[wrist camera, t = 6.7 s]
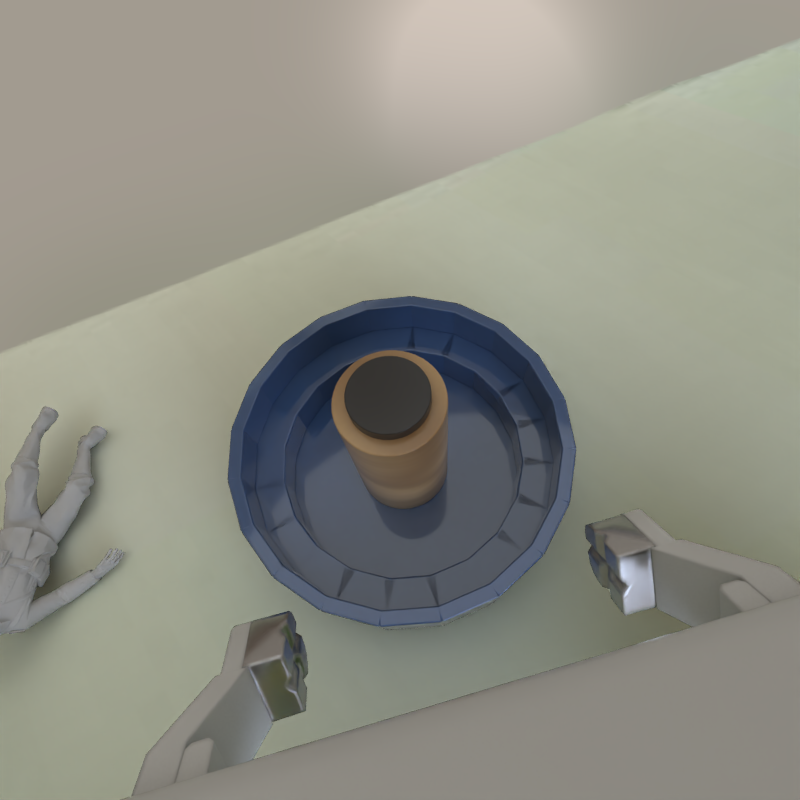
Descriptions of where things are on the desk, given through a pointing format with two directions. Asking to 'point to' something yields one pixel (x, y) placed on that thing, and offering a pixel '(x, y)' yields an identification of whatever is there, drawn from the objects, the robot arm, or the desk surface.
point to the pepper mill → (394, 426)
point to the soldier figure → (42, 532)
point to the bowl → (415, 527)
